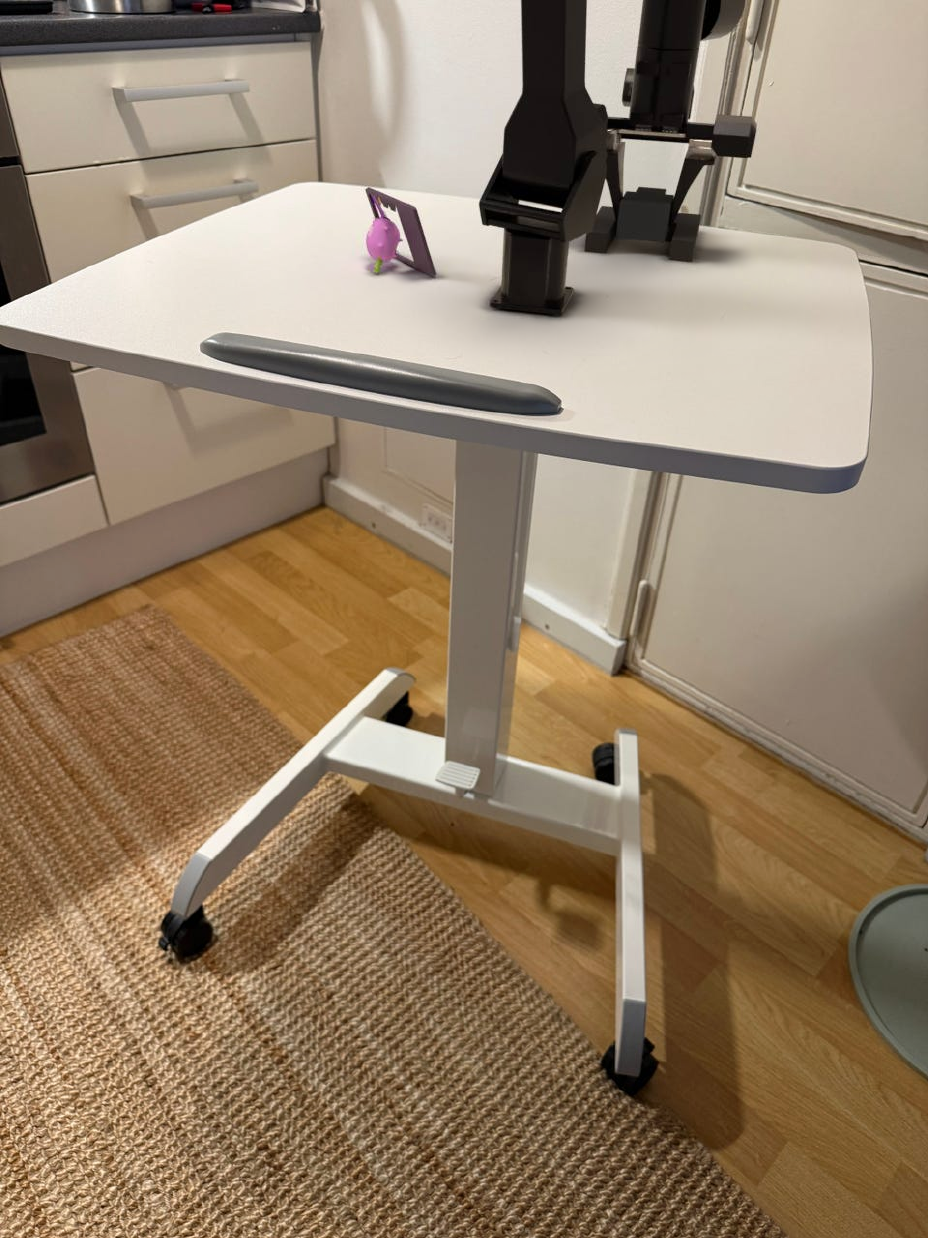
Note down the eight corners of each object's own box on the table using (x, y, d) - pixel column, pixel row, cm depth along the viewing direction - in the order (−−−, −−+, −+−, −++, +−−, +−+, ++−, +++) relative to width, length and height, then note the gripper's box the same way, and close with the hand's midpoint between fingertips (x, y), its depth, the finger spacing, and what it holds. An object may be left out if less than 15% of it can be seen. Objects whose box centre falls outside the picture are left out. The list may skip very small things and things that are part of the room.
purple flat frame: (422, 203, 81) (374, 182, 87) (375, 230, 80) (329, 208, 86) (443, 271, 86) (395, 248, 92) (399, 298, 85) (354, 272, 90)
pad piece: (664, 242, 92) (670, 206, 89) (615, 238, 93) (620, 201, 90) (670, 224, 97) (676, 189, 95) (624, 220, 98) (628, 185, 96)
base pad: (691, 261, 91) (694, 241, 90) (584, 251, 93) (586, 230, 92) (697, 233, 100) (701, 214, 98) (599, 224, 102) (601, 205, 101)
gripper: (771, 43, 88) (738, 212, 98) (582, 33, 92) (568, 198, 101) (771, 55, 80) (735, 240, 89) (563, 44, 83) (550, 223, 93)
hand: (644, 223), depth 93 cm, fingers closed on pad piece, 5 cm apart
